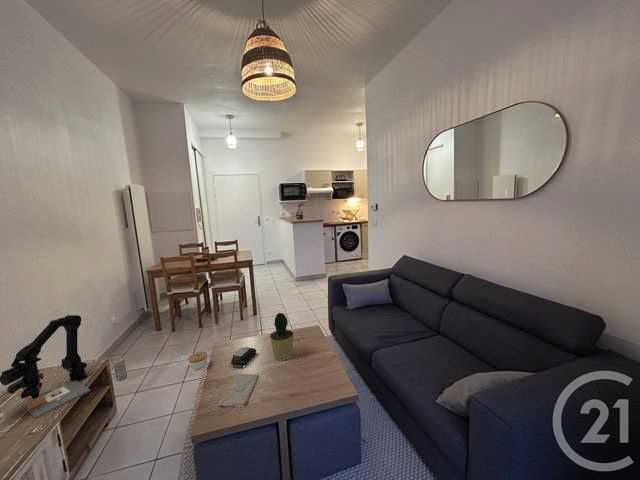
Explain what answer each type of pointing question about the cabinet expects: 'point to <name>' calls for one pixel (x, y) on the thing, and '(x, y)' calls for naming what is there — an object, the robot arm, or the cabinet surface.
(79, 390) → the slate board
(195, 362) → the lidded jar
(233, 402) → the envelope
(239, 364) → the miniature car
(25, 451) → the cabinet surface
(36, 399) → the brown white angular piece
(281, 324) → the potted cactus
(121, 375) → the energy drink
